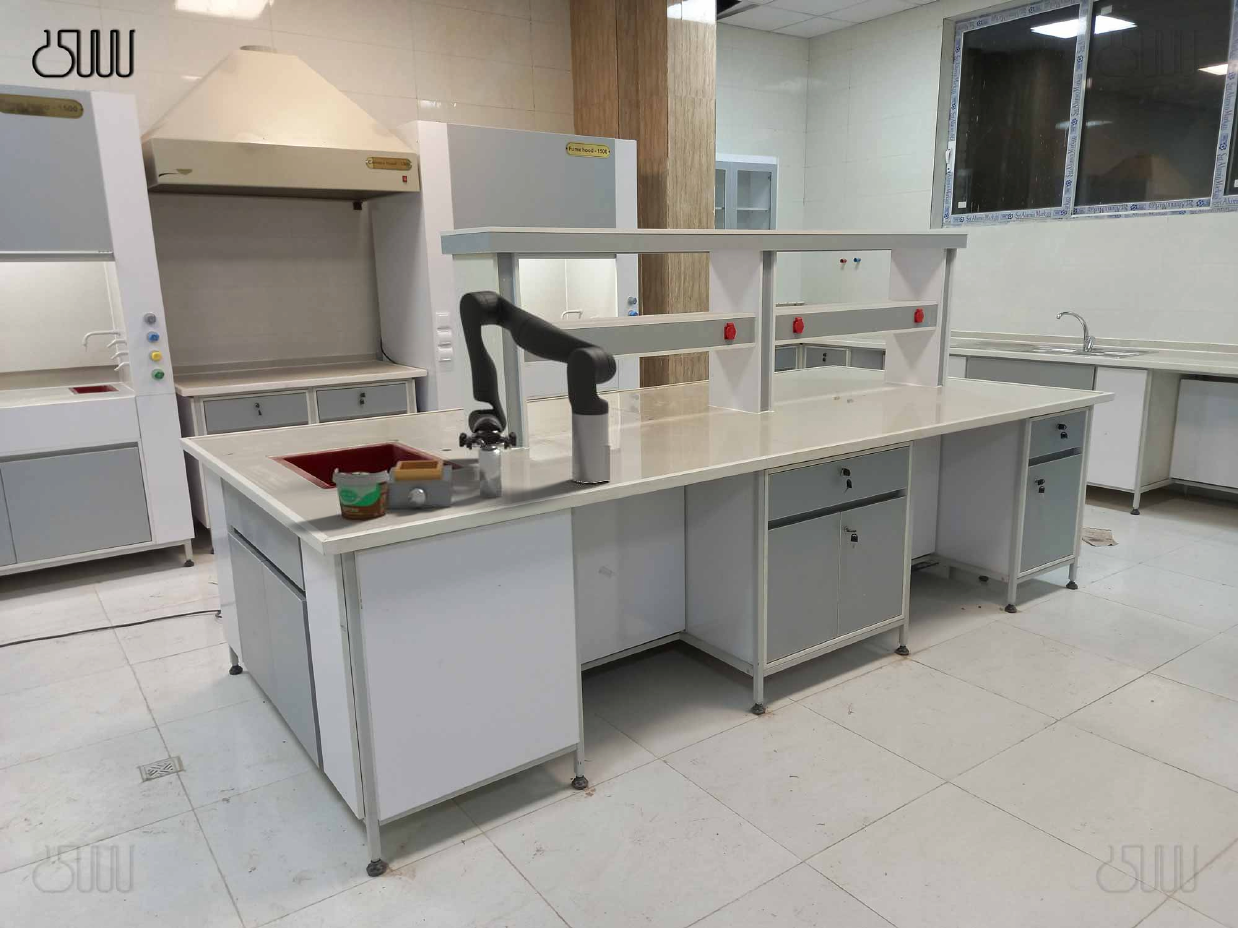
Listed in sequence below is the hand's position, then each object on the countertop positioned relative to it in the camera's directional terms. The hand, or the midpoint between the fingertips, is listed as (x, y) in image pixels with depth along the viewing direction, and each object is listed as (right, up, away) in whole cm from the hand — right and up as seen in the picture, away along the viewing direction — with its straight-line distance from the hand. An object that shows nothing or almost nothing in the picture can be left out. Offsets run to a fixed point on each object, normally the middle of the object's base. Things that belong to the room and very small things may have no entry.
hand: (488, 445), depth 210 cm
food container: (-23, -16, -28) cm, 40 cm away
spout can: (+2, -12, -9) cm, 15 cm away
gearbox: (-13, -13, -14) cm, 23 cm away
